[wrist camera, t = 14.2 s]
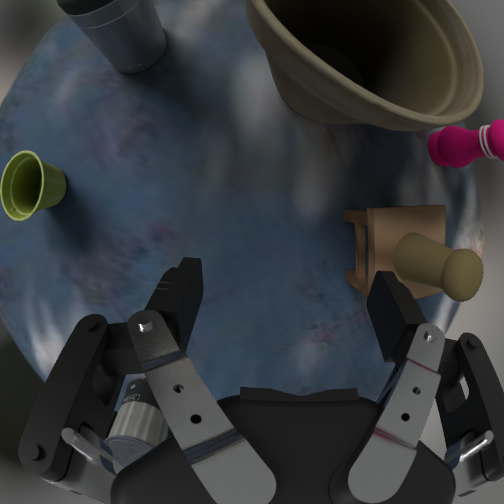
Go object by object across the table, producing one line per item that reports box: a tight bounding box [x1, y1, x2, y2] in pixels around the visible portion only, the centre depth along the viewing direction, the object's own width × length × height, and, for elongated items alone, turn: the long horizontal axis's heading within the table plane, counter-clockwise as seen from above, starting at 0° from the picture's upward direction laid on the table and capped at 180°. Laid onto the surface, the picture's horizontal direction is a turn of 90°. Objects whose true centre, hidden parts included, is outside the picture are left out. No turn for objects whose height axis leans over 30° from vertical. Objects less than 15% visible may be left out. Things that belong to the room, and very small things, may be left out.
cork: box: [393, 232, 483, 302], centre depth 24 cm, size 6×6×11 cm
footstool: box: [344, 205, 445, 299], centre depth 35 cm, size 12×12×10 cm
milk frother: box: [105, 378, 173, 467], centre depth 35 cm, size 14×16×15 cm
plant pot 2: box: [245, 0, 484, 131], centre depth 23 cm, size 25×25×22 cm
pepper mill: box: [428, 120, 504, 168], centre depth 28 cm, size 7×7×20 cm
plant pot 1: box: [0, 151, 66, 221], centre depth 29 cm, size 9×9×9 cm
